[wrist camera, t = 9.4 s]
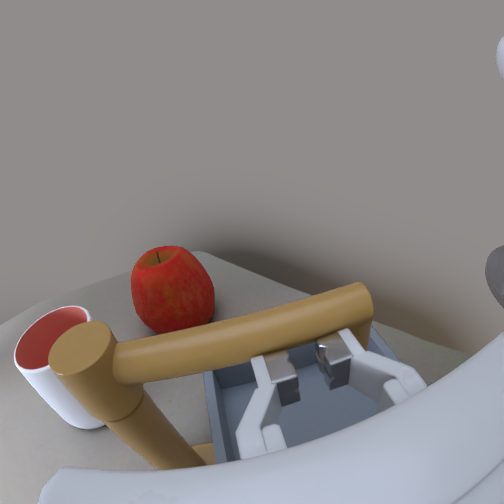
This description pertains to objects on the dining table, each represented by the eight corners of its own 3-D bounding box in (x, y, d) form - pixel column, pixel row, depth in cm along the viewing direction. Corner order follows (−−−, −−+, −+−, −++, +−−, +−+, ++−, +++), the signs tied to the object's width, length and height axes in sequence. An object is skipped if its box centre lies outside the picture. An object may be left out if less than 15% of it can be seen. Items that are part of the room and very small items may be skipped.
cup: (74, 372, 29) (34, 313, 24) (137, 363, 30) (100, 297, 25) (58, 432, 20) (0, 373, 16) (130, 433, 21) (73, 368, 17)
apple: (135, 321, 38) (107, 257, 33) (194, 287, 44) (175, 225, 39) (167, 360, 30) (131, 286, 25) (237, 315, 36) (218, 240, 31)
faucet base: (216, 444, 20) (160, 359, 14) (225, 493, 15) (159, 434, 10) (163, 451, 19) (89, 370, 14) (166, 499, 15) (73, 436, 9)
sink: (359, 346, 27) (363, 315, 25) (447, 477, 11) (471, 458, 9) (215, 390, 25) (202, 362, 23) (250, 557, 10) (236, 559, 8)
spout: (350, 326, 15) (353, 255, 13) (381, 368, 12) (395, 294, 10) (101, 384, 14) (60, 326, 12) (92, 433, 10) (38, 376, 8)
